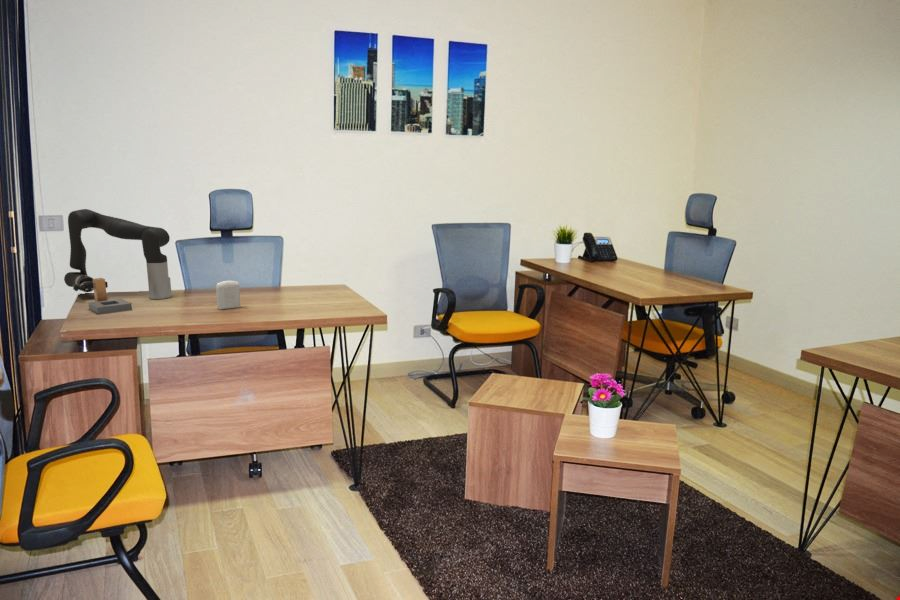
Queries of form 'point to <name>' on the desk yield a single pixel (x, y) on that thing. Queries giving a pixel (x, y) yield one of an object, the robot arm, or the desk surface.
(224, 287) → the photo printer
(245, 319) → the desk surface
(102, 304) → the well stand
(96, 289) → the bracket post
